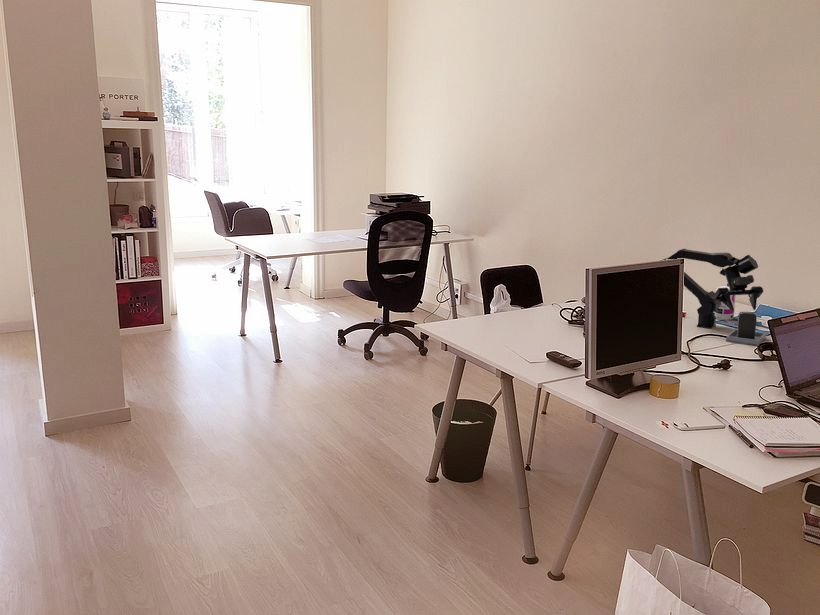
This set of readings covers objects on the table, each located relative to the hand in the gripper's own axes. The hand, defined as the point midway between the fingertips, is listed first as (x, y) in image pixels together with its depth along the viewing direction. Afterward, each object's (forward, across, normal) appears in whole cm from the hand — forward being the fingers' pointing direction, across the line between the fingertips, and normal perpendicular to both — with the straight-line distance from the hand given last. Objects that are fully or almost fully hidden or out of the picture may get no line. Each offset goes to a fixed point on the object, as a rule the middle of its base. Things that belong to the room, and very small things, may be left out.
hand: (743, 310), depth 291 cm
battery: (+10, 0, +6) cm, 12 cm away
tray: (+11, 0, +7) cm, 13 cm away
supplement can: (-13, +6, +31) cm, 34 cm away
